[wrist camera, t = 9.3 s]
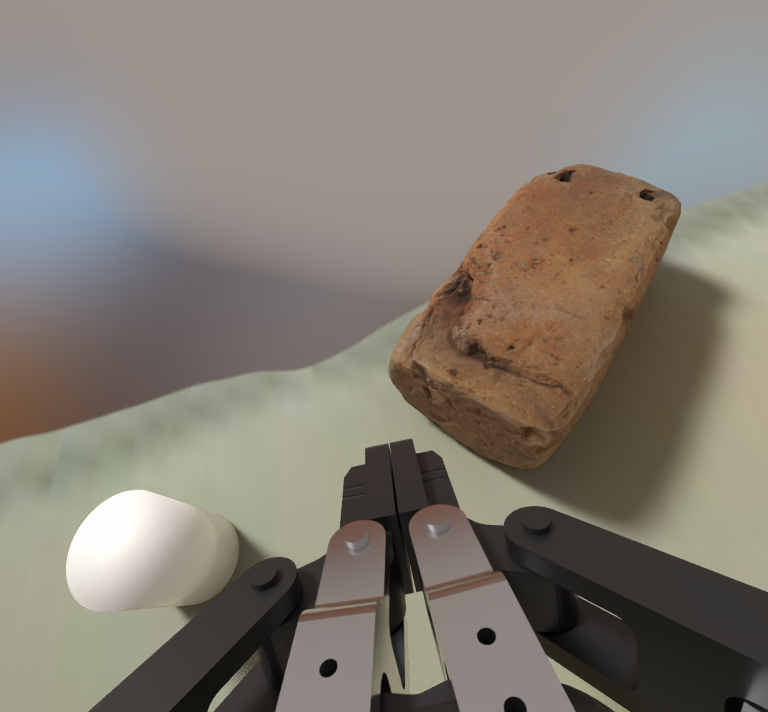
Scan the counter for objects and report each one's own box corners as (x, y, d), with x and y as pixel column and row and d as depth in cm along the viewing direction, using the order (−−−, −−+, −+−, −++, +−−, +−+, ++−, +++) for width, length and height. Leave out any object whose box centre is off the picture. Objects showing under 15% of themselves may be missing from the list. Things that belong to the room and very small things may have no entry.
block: (535, 493, 24) (657, 267, 31) (567, 453, 18) (712, 180, 25) (385, 400, 28) (522, 219, 36) (368, 341, 22) (540, 134, 29)
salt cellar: (153, 612, 24) (55, 622, 18) (161, 520, 26) (77, 500, 20) (239, 596, 24) (170, 600, 18) (239, 504, 26) (179, 480, 20)
